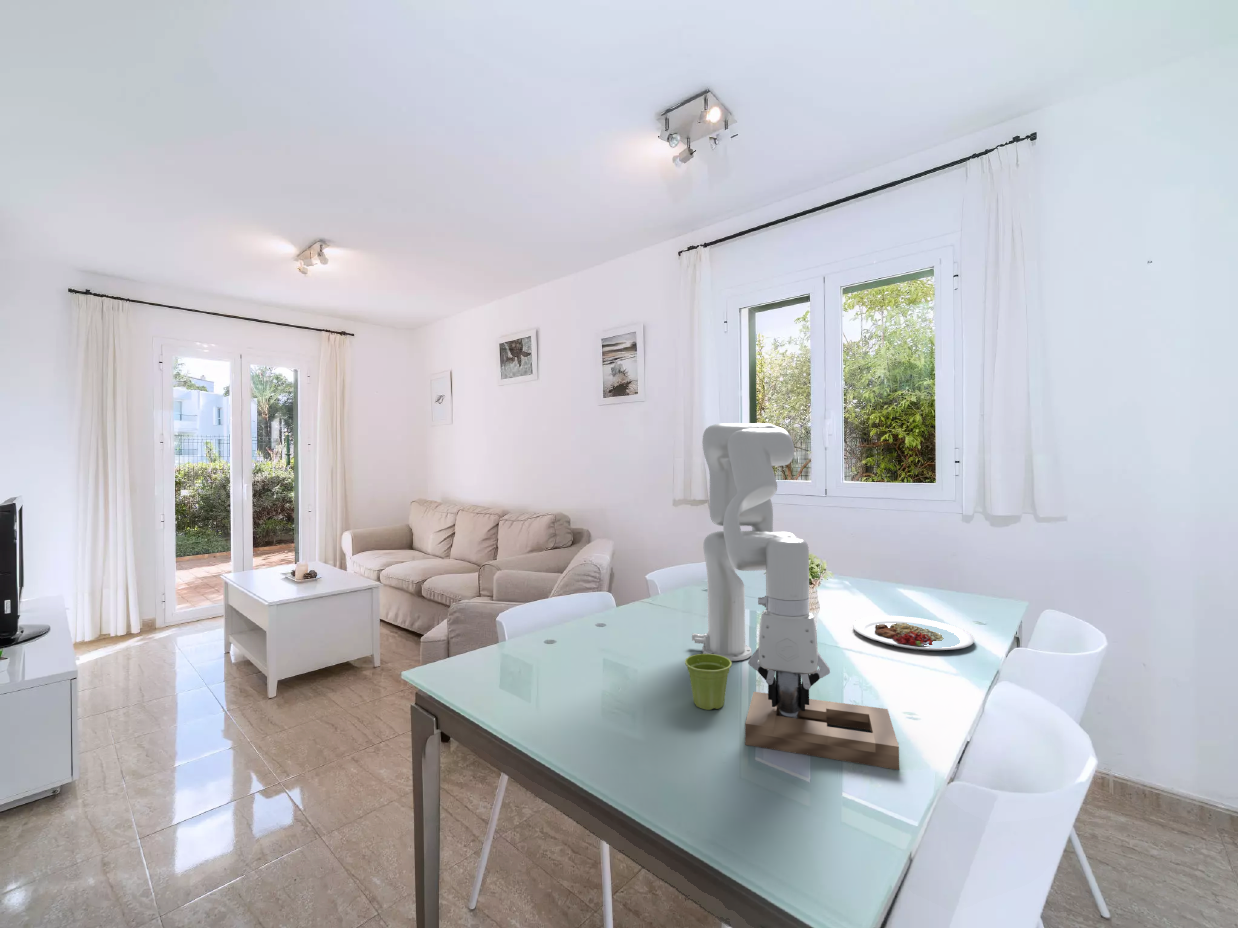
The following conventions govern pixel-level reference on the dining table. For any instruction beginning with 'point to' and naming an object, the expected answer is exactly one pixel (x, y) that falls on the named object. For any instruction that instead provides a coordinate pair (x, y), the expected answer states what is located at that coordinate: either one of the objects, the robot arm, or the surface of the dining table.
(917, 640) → the plated food
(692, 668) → the plant pot
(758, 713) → the keyhole plate
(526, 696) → the dining table surface
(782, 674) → the peg
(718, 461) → the robot arm
